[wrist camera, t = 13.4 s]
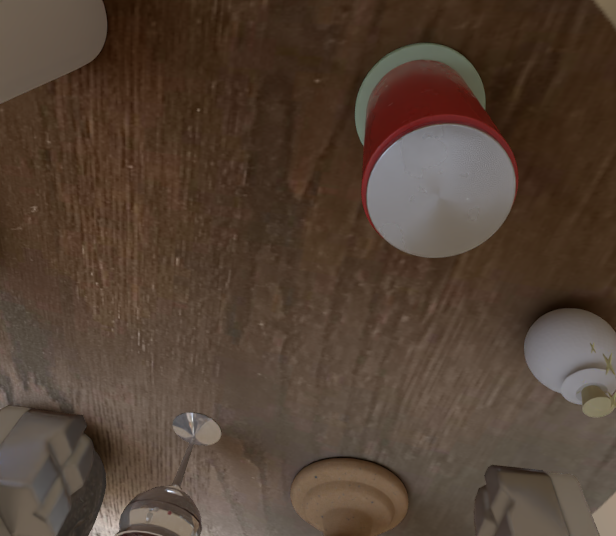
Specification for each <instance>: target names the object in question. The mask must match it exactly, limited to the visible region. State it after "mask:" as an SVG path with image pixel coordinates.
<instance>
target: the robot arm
mask: <svg viewBox="0 0 616 536" xmlns="http://www.w3.org/2000/svg"><path fill="white" fill-rule="evenodd" d="M86 427H87V424H86V422H85V419H84V417H83V415H76V414H69V413H62V412H55V411H47V410H40V409H34V408H27V407H19V406H10V405H8V406H6V407H5V408H3V409H2V410H0V536H11V535H13V536H57V534H58V532H59V530H60V529H61V527H62V525H63V523H64V521H65V519H66V517H67V516H68V514H69V512H70V510H71V508H72V503H71V496H70V495H72V494H73V493H74V492H76V491H77V490H78V489H80V488H81V487H83V486H84V484H85V482H86V480H87V478H88V476H89V474H90V472H91V468H92V464H93V461H94V445H93V442H92V439H90V438H89V437H88V436H87V435H86V434H85V433H83V432H84V431H85V429H86ZM484 476H485V481H486V485H485V486H483V487H481V488H479V489H478V492H477V495H476V498H475V505H474V524H475V531H476V536H600V535H599V532H598V530H597V527H596V525H595V522H594V519H593V517H592V514H591V512H590V509H589V507H588V504H587V501H586V499H585V496H584V494H583V491H582V489H581V486H580V483H579V481H578V480H577V479H576V478H575V476H574V475H571V474H564V473H554V472H545V471H543V470H535V469H525V468H516V467H507V466H497V465H491V466H489V467H488V468H487V470H486V473H485V475H484Z"/></svg>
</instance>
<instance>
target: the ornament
mask: <svg viewBox="0 0 616 536" xmlns="http://www.w3.org/2000/svg"><path fill="white" fill-rule="evenodd" d="M524 354H525V359H526V362H527V365H528V367H529V369H530V370H531V372H532V373H533V375H534V376H535V377H536V378H537V379H538V380H539V381H540V382H541V383H542V384H543V385H545V386H546V387H548V388H550V389H551V390H553V391H556V392H558V393H561V394H562V395H563V397H564V398H565V399H566V400H568V401H570V402H572V403H575V404H581V405H582V408H583V412H584V413H585V414H586V415H588V416H590V417H602V416H605V415H608V414H609V413H611V412H612V411H613V410H614V408H615V407H616V403H615V397H616V393H615V394H614V396H613V397H612V396H611V395H612V394H613V393H614V391H615V389H616V378H615V377H616V333H615V331H614V330H613V329H612V327H611V326H610V325H609V324H608V323H607V322H606V321H605V320H603V319H602V318H600V317H599V316H597V315H595V314H593V313H591V312H588V311H585V310H582V309H576V308H563V309H557V310H553V311H551V312H548V313H546V314H544V315H543V316H541V317H540V318H539V319H537V320H536V321H535V322H534V323H533V324H532V326H531V327H530V329H529V331H528V333H527V335H526V338H525V343H524ZM609 396H610V398H609Z"/></svg>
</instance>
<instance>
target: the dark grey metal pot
mask: <svg viewBox="0 0 616 536" xmlns="http://www.w3.org/2000/svg"><path fill="white" fill-rule="evenodd" d="M105 489H106V473H105V469H104V466H103V463H102V461H101V459H100V456H99V455H98V454H97V452H96V451H95V450H94V461H93V464H92V468H91V472H90V474H89V476H88V478H87V480H86V482H85V484H84V486H83V487H81V488H80V489H78V490H77V491H76V492H74V493H73V494H72V495H70V496H71V503H72V508H71V510H70V512H69V514H68V516H67V517H66V519H65V521H64V523H63V525H62V527H61V529H60V530H59V532H58V534H57V536H88V535H89V533H90V531H91V529H92V527H93V525H94V523H95V520H96V518H97V515H98V512H99V510H100V507H101V505H102V502H103V498H104V494H105ZM11 536H13V535H11Z"/></svg>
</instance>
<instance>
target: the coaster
mask: <svg viewBox="0 0 616 536" xmlns="http://www.w3.org/2000/svg"><path fill="white" fill-rule="evenodd" d="M414 60H433V61H438V62H441V63H443V64H446V65H448V66H449V67H451V68H452V69H454V70H455V71H456V72H457V73H458V74H460V76H461V77H462V78H463V79H464V81H465V82H466V84H467V85H468V86H469V88H470V89H471V91H472V92H473V94H474V95H475V97H476V98H477V100H478V101H479V102H480V104H481V105H482V107H483V108H484V110H485V106H486V99H485V91H484V87H483V83H482V81H481V78H480V76H479V74H478V73H477V71H476V69H475V68H474V67H473V65H472V64H471V63H470V62H469V61H468V60H467V59H466V58H465V57H464V56H463V55H462V54H460V53H459V52H457V51H456V50H454V49H451V48H449V47H447V46H444V45H440V44H435V43H416V44H411V45H407V46H403V47H401V48H399V49H396V50H394V51H392V52H391V53H389V54H387V55H386V56H385V57H383V58H382V59H381V60H379V61H378V62H377V63H376V64H375V65H374V66H373V68H372V69H371V70H370V71H369V73H368V74H367V76H366V77H365V79H364V80H363V82H362V85H361V87H360V89H359V92H358V95H357V100H356V105H355V124H356V129H357V133H358V135H359V138H360V140H361V142H362V144H363V146H364V137H365V120H366V108H367V103H368V100H369V97H370V95H371V93H372V91H373V89H374V88H375V86H376V84H377V83H378V82H379V81H380V80H381V78H382V77H383V76H385V75H386V74H387V73H388V72H389V71H391V70H392V69H394V68H395V67H397V66H399V65H401V64H404V63H406V62H410V61H414Z"/></svg>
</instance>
